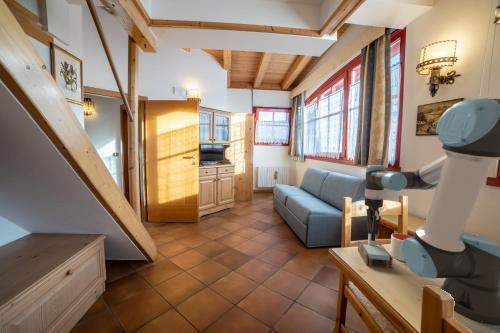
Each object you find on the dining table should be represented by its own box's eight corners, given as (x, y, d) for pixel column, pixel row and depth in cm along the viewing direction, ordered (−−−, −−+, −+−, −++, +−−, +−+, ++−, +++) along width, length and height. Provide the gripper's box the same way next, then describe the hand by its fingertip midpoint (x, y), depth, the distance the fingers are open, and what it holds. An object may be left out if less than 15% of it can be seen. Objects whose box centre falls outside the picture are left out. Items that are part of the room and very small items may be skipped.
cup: (422, 263, 94) (423, 242, 93) (399, 263, 94) (400, 241, 93) (405, 253, 104) (407, 233, 103) (385, 252, 104) (386, 233, 103)
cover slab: (389, 260, 90) (389, 256, 89) (368, 258, 91) (369, 253, 91) (381, 249, 99) (381, 245, 99) (362, 248, 101) (362, 243, 101)
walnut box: (391, 269, 90) (392, 257, 89) (366, 265, 92) (366, 254, 92) (380, 253, 103) (380, 243, 103) (357, 251, 106) (358, 241, 105)
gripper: (388, 201, 92) (385, 253, 94) (378, 195, 104) (375, 241, 106) (369, 200, 94) (367, 251, 95) (361, 194, 106) (359, 239, 108)
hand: (371, 246), depth 101 cm, fingers closed
